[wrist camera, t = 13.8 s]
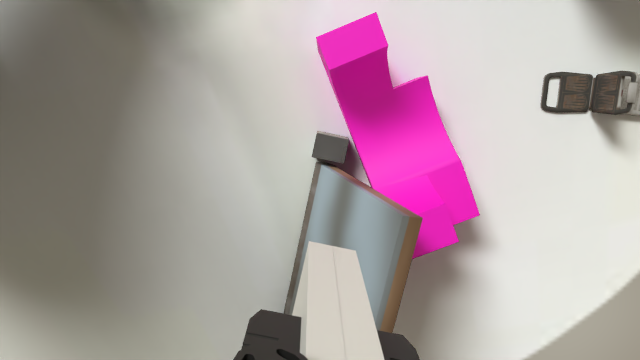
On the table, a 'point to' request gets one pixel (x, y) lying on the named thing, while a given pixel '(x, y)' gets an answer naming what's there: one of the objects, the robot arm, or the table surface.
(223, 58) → the table surface
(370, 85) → the toy block
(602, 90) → the strap clip
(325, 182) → the walnut flap
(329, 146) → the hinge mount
